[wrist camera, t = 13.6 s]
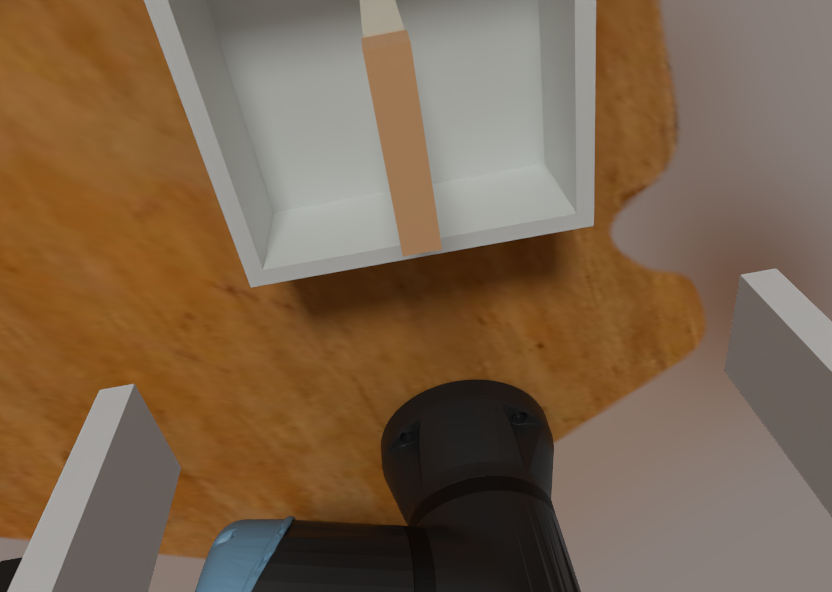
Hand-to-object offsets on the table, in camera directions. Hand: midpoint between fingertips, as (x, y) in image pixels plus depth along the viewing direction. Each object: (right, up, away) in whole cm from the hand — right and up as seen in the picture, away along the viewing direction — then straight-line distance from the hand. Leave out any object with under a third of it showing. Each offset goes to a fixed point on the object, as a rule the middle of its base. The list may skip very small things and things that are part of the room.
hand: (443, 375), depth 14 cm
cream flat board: (-2, +16, +22) cm, 28 cm away
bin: (-2, +17, +23) cm, 29 cm away
